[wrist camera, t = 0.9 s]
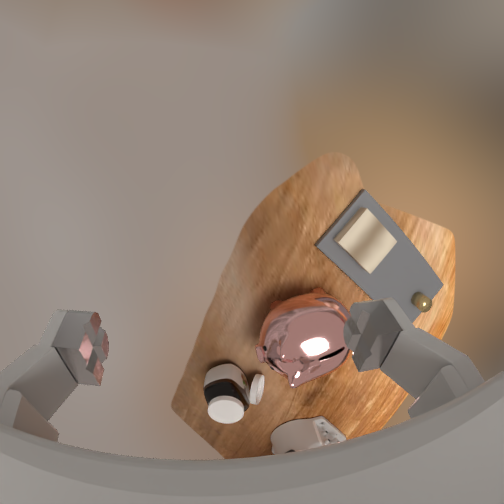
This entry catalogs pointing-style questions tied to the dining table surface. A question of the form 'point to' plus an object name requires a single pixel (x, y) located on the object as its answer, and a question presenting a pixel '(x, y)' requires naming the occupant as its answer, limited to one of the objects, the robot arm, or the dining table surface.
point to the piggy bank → (304, 337)
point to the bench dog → (421, 302)
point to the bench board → (384, 261)
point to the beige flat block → (365, 239)
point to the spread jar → (230, 392)
